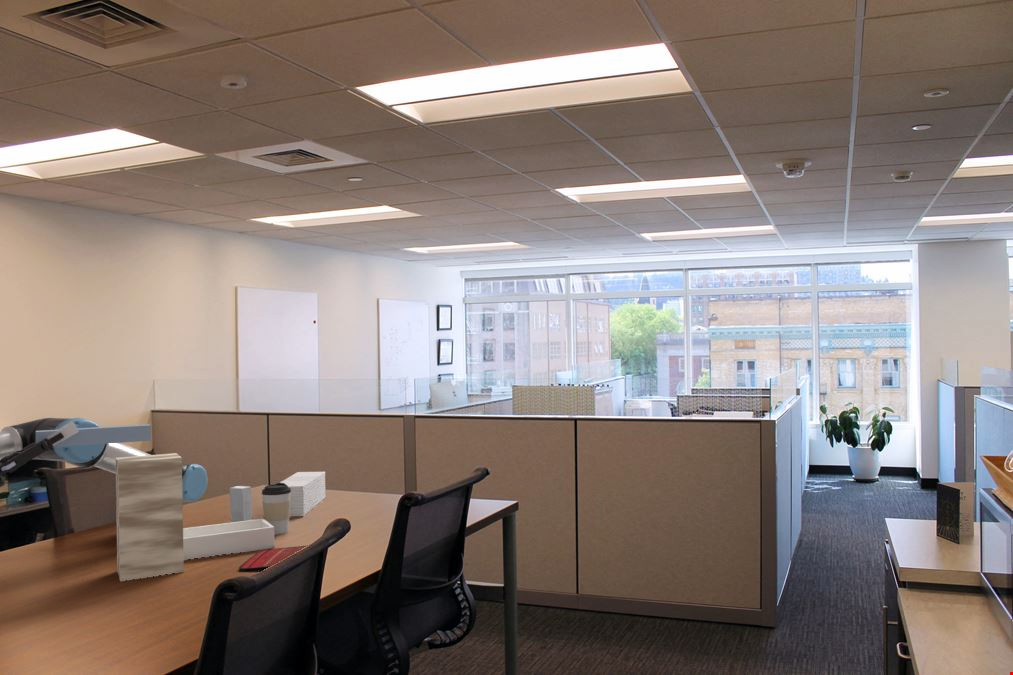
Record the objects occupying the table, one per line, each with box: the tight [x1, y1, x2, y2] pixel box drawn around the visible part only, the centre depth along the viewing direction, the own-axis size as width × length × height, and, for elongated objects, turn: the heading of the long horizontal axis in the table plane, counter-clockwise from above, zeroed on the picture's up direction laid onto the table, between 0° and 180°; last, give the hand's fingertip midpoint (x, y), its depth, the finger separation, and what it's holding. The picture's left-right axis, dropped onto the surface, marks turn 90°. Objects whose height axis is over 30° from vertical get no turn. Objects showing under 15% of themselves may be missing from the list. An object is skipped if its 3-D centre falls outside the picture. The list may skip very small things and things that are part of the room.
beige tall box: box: [115, 452, 185, 582], centre depth 211 cm, size 11×15×30 cm
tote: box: [183, 518, 276, 561], centre depth 232 cm, size 14×33×6 cm, turn 119°
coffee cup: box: [261, 482, 291, 535], centre depth 254 cm, size 9×9×15 cm
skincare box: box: [229, 485, 254, 523], centre depth 268 cm, size 6×4×12 cm
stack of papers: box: [279, 471, 327, 516], centre depth 292 cm, size 32×11×11 cm, turn 0°
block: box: [36, 423, 152, 447], centre depth 205 cm, size 4×26×4 cm, turn 120°
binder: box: [238, 544, 309, 572], centre depth 220 cm, size 16×2×21 cm
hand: (75, 426), depth 203 cm, fingers closed on block, 4 cm apart
